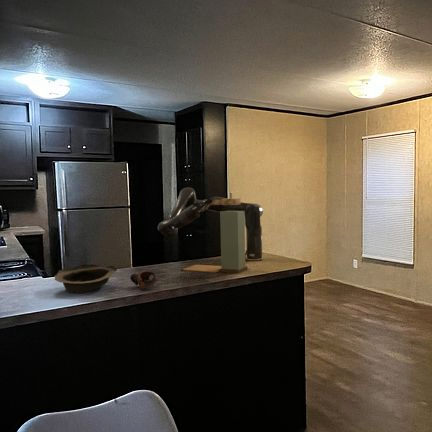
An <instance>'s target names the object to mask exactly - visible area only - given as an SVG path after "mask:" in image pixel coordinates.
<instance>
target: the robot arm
mask: <svg viewBox="0 0 432 432" xmlns="http://www.w3.org/2000/svg"><path fill="white" fill-rule="evenodd" d="M221 199H227V198H226V197H222V196H213V197H209V198H207V199H205V200H206V201H204V202H203V200H204V199H203V200H202V199H197V196H196V191H195V189H194V188H192V187H184V188H182V189H181V190H180V191H179V195H178V197H177V199H176V202H175V204H174V206H173V208H172V209H171V211H170V213H169V214H168V216H167V218H166V219H164V220H162V221H161V222H159V223H158V225H157V230H158V231H159V232H160V233H161V234H162V235H163V236H164V237H165V238H166V239H168V240H171V239H173V238H174V237H175V236H176V235H177V233H178V230H180V229H183V228H184V227H186V226H187V225H189V224H191V223H193V222H194V221H195V220H197V219H199V218H200V217H201V213H203V212H204V211H211V212H215V213H219V214H220V212H223V211H244V214H245V246H246V249H245V257H246V261H249V262H250V261H251V262H259V261H262V260H263V228H262V227H263V226H262V224H261V217H262V215H263V213H264V209H263V207H262V206H261V205H260V204H259V203H251V202H241V204H239V205H213V204H210V203H211V202H213V200H221Z"/></svg>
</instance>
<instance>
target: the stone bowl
mask: <svg viewBox="0 0 432 432" xmlns="http://www.w3.org/2000/svg"><path fill="white" fill-rule="evenodd" d="M116 273H117V267H116V266H114V265H108V266H103V265H99V264H98V265H97V264H93V263H92V264H81V265H79V266H78V265H77V266H69V267H66V268H61V269H59V270H58V272H57V273H56V275H54V281H56V282H58V283H62V285H63V287H64V289H65V291H67V292H69V293H72V294H77V293H79V294H80V293H88V292H90V291H93V290H96V289H98V288H100V287H102V286H104V285H106V284H107V283H108V282H109V279H110V277H112V276H113V275H115V274H116Z"/></svg>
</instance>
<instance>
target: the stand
mask: <svg viewBox="0 0 432 432" xmlns="http://www.w3.org/2000/svg"><path fill="white" fill-rule="evenodd" d="M219 222H220V224H219V225H220V227H219V228H220V263H221V264H220V266H221V269H219V272H218V273H226V274H227V273H230V274H240V273H242V272H244V271H247V270H248V269H249V267H248V265H247V266H246V256H245V253H246V226H245V214H244V211H223V212H220V213H219Z"/></svg>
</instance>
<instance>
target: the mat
mask: <svg viewBox="0 0 432 432" xmlns="http://www.w3.org/2000/svg"><path fill="white" fill-rule="evenodd" d="M219 269H221V265H211V264H210V265H209V264H193V265H191V266H187V267H185V268H182V269H181V270H182V271H186V272H201V273H213V274H216V273H220V272H219Z"/></svg>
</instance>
